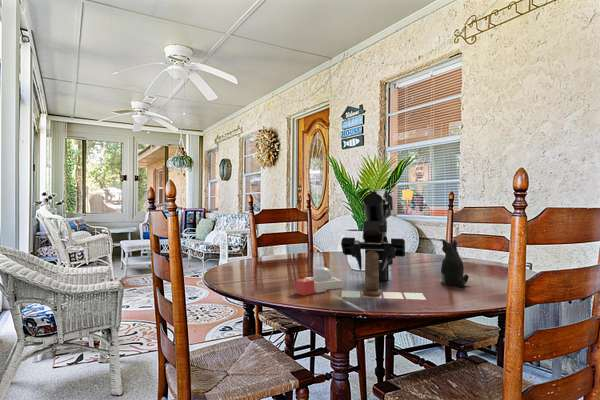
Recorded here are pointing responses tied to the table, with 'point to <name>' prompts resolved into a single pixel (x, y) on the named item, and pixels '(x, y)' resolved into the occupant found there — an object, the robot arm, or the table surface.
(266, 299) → the table surface
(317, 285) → the base
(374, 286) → the pawn
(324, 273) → the dome
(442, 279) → the figurine
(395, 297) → the track board
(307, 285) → the red die
